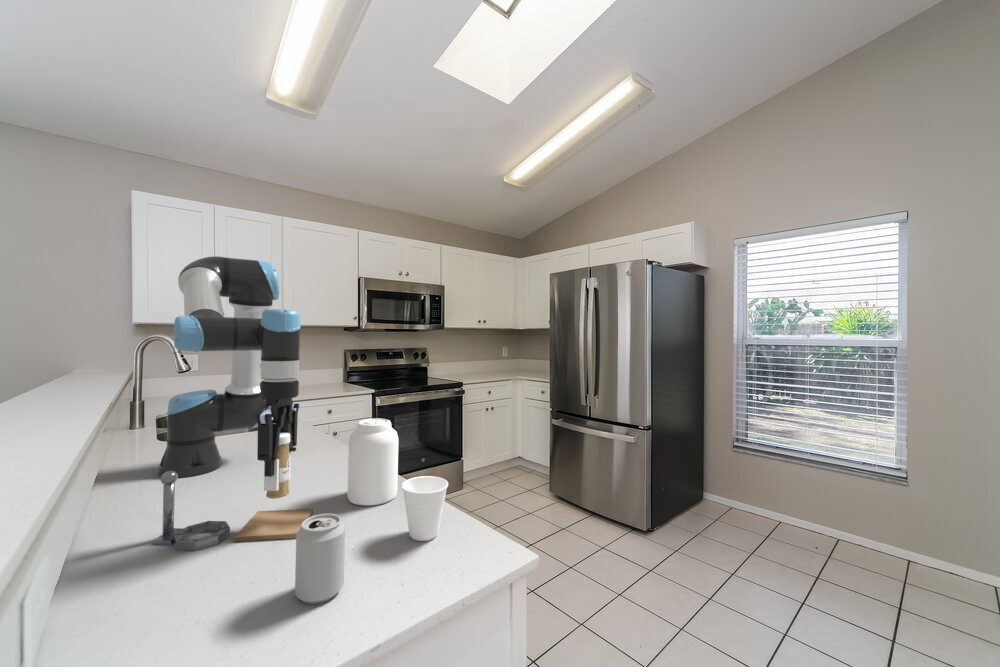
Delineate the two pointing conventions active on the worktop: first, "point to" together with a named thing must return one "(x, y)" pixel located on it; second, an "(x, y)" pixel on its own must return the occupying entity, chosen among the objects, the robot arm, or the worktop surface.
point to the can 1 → (320, 558)
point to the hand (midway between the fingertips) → (277, 485)
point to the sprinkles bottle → (282, 467)
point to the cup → (424, 505)
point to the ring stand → (180, 534)
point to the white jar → (373, 463)
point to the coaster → (273, 525)
